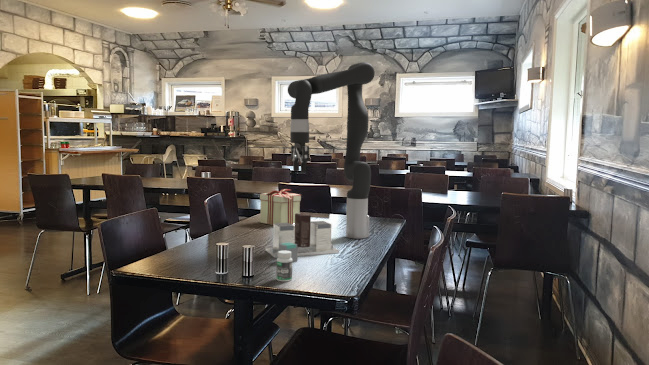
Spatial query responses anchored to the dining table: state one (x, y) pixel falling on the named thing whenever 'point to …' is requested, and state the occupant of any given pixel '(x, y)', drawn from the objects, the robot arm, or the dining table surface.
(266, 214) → the gift box
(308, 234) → the box
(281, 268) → the pill bottle
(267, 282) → the dining table surface
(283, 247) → the block
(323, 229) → the rail panel
